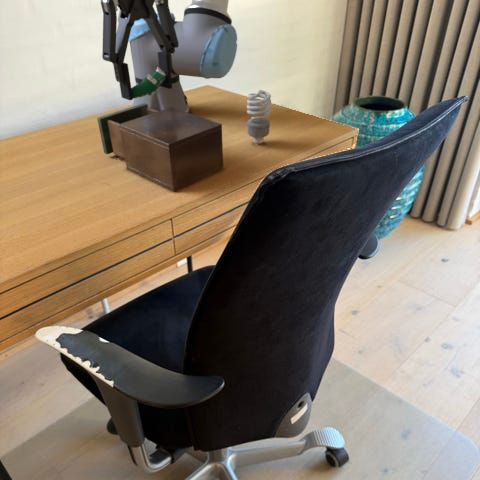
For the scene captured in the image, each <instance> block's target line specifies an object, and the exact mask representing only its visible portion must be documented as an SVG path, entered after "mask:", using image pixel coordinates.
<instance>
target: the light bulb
mask: <svg viewBox="0 0 480 480" xmlns="http://www.w3.org/2000/svg"><path fill="white" fill-rule="evenodd" d="M247 98H248V99H246V103H247V105H246V109H247V110H246V113H247V114H248V115H250V116H252V117H250V119H248V120H247V123H246V127H247V129H246V130H247V134H248V136H250V137H252V141H253V142H254V143H255V144H256V145H260V144H262V143H263V142H264V140H265V138H264V137H268V136H269V135H270V129H271V122H270V121H271V120H269V119H268V117H269V116H270V114H271V111H272V105H271V104H272V99H271V98H272V96H271V94H270V93H269V92H267V91H266V90H260V89H258V90H257V92H256V93H255V92H253V93H248V94H247Z"/></svg>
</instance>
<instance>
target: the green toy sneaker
mask: <svg viewBox="0 0 480 480" xmlns="http://www.w3.org/2000/svg"><path fill="white" fill-rule="evenodd" d="M165 78H166V74H165V73H164V71H162V70H161V69H160V68H159V67H157V70H156V71H155V73H154V74H152V75H150V74H148V76H147V77H145V78H144V79H143V80H142V83H140V84H138V85H136V84H135V85H134V86H131V89H132V96H133V99H134V98H138V97H142V96H145V95H147V94H148V95H151V94H152V95H151V96H153V95H154V94H155V92H154V91H156V90H157V91H158V90H159V89H160V88H158V87H159V85H161V84H162V83H163V82H164V80H165ZM157 91H156V92H157Z"/></svg>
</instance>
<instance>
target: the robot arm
mask: <svg viewBox="0 0 480 480" xmlns="http://www.w3.org/2000/svg"><path fill="white" fill-rule="evenodd" d="M229 2H230V1H229V0H191V3H190V4H189V5H188V6H187V7H186V8H184V10H183V19H182V20H181V21H180V20H178V21H177V20H176V16H175V14H174V13H173V12H171V9H170V7H169V6H170V5H169V0H100V5H101V10H102V55H101V56H102V60H103V61H106V62H109V63H112V65H113V71H114V77H115V80H116V82H117V83H119V89H120V95H121V99H124V100H127V101H133V104H132V107H134V106H137V105H140V104H143V103H145V104H148V108H151V109H154V110H157V111H161V110H164V109H167V108H171V107H173V108H176V109H179V110H182V111H185V112H188V113H190V105H189V102H188V101H189V100H188V99H189V98H188V97H187V95H186V94H185V92H184V90H183V86H182V83H181V79H180V76H185V77H195V78H204V79H205V80H208V79H222V78H224V77H226V76H227V74H229V72H230V71H231V69H232V67H233V65H234V63H235V59H236V55H237V50H238V43H237V42H238V33H237V30H236V28H235V27H234V25H232V24H233V20H232V17H231V16H230V14H229V13H228V8H229ZM154 5H155V8H154ZM155 9H156V10H155ZM118 11H119V12H118ZM117 12H118V15H117ZM117 23H118V25H117ZM128 46H129V47H130V54H131V60H132V67H133V74H134V75H133V76H134V81H135V86H136V85H138V84H140V83H142V80H143V79H144V78H145V77H147V76H148V74H150V75H152V74H154V73H155V71H156V70H157V67H159V68H160V69H161V70H162V71H164V73H165V74H166V78H165V80H164V82H163V83H162V84H161V85H159V87H158V88H160V89H159V90H158V91H157V90H156V91H157V92H156V91H154V92H155V94H154V95H153V96H151V95H152V94H151V95H148V94H147V95H145V96H142V97H138V98H133V96H132V89H131V88H132V83H131V77H130V70H129V69H130V68H129V64H128V63H127V62H125V58H126V53H127V50H128Z"/></svg>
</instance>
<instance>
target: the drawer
mask: <svg viewBox="0 0 480 480" xmlns="http://www.w3.org/2000/svg"><path fill="white" fill-rule="evenodd" d="M155 112H158V111H157V110H154V109H151V108H148V104H145V103H143V104H140V105H137V106H134V107H133V106H131V107H127V108H124V109H121V110H118V111H115V112H111V113H108V114H104V115H102V116H99V117H96V121H97V126H98V129H99V134H100V139H101V144H102V149H103V153H104V154H106V155H109V154H112V153H113V154H114V155H116V156H118V157H119V158H122V159H124V160H125V155H124V150H123V144H122V138H121V133H120V127H119V124H121V123H124V122H128V121H131V120H134V119H137V118H140V117H143V116H146V115H149V114H152V113H155Z"/></svg>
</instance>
